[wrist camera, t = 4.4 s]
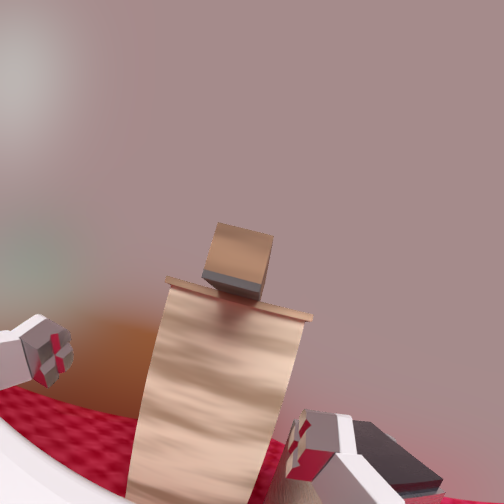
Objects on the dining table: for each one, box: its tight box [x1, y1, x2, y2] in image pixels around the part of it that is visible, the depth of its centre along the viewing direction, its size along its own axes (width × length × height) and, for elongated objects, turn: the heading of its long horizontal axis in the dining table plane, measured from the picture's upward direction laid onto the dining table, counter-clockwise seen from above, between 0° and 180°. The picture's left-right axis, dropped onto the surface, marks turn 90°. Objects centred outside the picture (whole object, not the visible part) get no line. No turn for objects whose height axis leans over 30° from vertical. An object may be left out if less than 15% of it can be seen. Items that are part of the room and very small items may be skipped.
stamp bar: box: [202, 222, 274, 301], centre depth 28 cm, size 22×4×6 cm, turn 179°
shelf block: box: [125, 276, 313, 504], centre depth 27 cm, size 11×13×26 cm
